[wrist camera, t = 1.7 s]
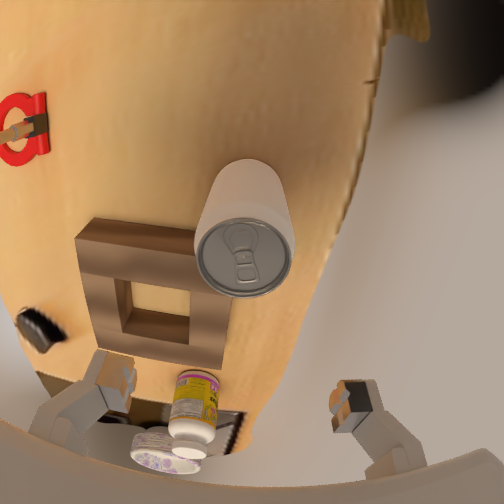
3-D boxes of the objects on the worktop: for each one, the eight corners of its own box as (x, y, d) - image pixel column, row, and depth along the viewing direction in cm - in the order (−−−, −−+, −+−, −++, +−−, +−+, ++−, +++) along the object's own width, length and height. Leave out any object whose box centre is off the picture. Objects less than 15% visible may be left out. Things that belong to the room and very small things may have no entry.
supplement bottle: (219, 393, 46) (213, 463, 35) (179, 389, 45) (167, 457, 34) (220, 371, 42) (213, 449, 31) (176, 365, 42) (161, 441, 31)
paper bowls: (212, 431, 54) (209, 464, 47) (194, 451, 62) (190, 478, 55) (140, 411, 51) (132, 445, 44) (133, 434, 58) (127, 462, 52)
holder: (93, 217, 29) (74, 238, 26) (239, 237, 31) (237, 262, 27) (109, 323, 38) (98, 347, 34) (223, 343, 39) (221, 370, 35)
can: (278, 153, 26) (295, 204, 16) (285, 218, 30) (300, 298, 19) (207, 162, 27) (176, 219, 16) (219, 225, 30) (201, 307, 20)
